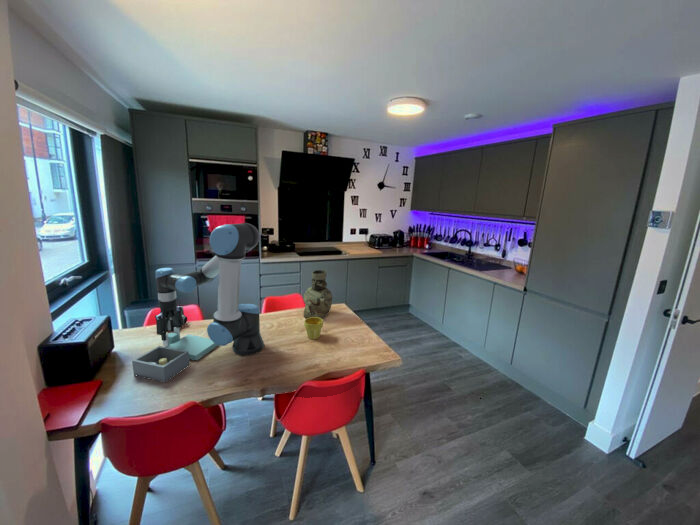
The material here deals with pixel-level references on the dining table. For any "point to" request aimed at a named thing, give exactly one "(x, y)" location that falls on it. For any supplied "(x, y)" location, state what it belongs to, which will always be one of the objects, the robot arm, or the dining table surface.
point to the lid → (191, 345)
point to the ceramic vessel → (317, 297)
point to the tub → (160, 363)
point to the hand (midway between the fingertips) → (172, 342)
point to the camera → (171, 324)
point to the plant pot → (313, 327)
